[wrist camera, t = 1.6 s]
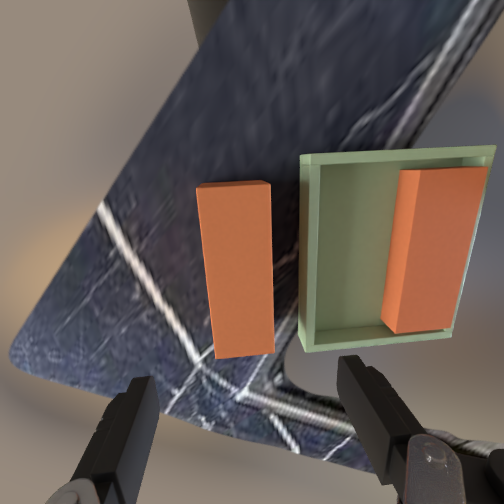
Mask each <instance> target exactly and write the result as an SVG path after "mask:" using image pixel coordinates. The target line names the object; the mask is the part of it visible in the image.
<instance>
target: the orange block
mask: <svg viewBox="0 0 504 504" xmlns="http://www.w3.org/2000/svg"><path fill="white" fill-rule="evenodd" d="M196 193H197V202H198V210H199V219H200V228H201V236H202V245H203V254H204V262H205V271H206V280H207V288H208V297H209V306H210V314H211V323H212V332H213V340H214V349H215V358H216V359H222V358H231V357H241V356H251V355H260V354H270V353H274V352H275V349H274V308H273V267H272V226H271V185H270V184H269V183H267V182H265V181H263V180H251V181H233V182H215V183H202V184H201V185H200V186H198V187H197V188H196Z"/></svg>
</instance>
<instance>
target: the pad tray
mask: <svg viewBox="0 0 504 504" xmlns="http://www.w3.org/2000/svg"><path fill="white" fill-rule="evenodd" d="M496 146H497V145H478V146H458V147H438V148H417V149H397V150H376V151H356V152H336V153H315V154H305V155H300V208H299V297H298V335H299V338H300V340H301V343H302V345H303V348H304V350H305V352H306V353H308V352H317V351H327V350H336V349H346V348H356V347H365V346H375V345H384V344H394V343H403V342H413V341H422V340H432V339H441V338H450V337H451V335H452V330H453V326H454V322H455V318H456V314H457V310H458V306H459V301H460V297H461V293H462V289H463V285H464V280H465V276H466V272H467V267H468V264H469V259H470V255H471V251H472V247H473V243H474V239H475V234H476V230H477V226H478V222H479V217H480V214H481V209H482V205H483V201H484V197H485V193H486V188H487V184H488V180H489V176H490V172H491V168H492V163H493V159H494V155H495V151H496ZM457 166H486V167H488V171H487V176H486V180H485V184H484V188H483V193H482V197H481V201H480V205H479V210H478V214H477V218H476V222H475V226H474V231H473V235H472V239H471V243H470V248H469V252H468V256H467V260H466V265H465V269H464V273H463V277H462V282H461V286H460V290H459V294H458V299H457V303H456V307H455V311H454V316H453V320H452V324H451V328H446V329H436V330H427V331H417V332H407V333H397V334H395V333H394V332H393V331H392V330H391V329H390V328H389V327H388V326H387V325H386V324H385V323H384V322H383V321H382V320H381V319H380V317H381V309H382V302H383V294H384V286H385V279H386V271H387V263H388V256H389V248H390V240H391V233H392V225H393V217H394V210H395V202H396V194H397V187H398V179H399V171H400V170H403V169H421V168H439V167H457Z"/></svg>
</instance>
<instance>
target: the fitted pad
mask: <svg viewBox="0 0 504 504" xmlns="http://www.w3.org/2000/svg"><path fill="white" fill-rule="evenodd" d="M487 171H488V167H486V166H457V167H439V168H421V169H403V170H400V171H399V179H398V187H397V194H396V202H395V210H394V217H393V225H392V233H391V240H390V248H389V256H388V263H387V271H386V279H385V286H384V294H383V302H382V309H381V317H380V319H381V320H382V321H383V322H384V323H385V324H386V325H387V326H388V327H389V328H390V329H391V330H392V331H393V332H394V333H395V334H397V333H407V332H417V331H427V330H436V329H446V328H451V324H452V320H453V316H454V311H455V307H456V303H457V299H458V294H459V290H460V286H461V282H462V277H463V273H464V269H465V265H466V260H467V256H468V252H469V248H470V243H471V239H472V235H473V231H474V226H475V222H476V218H477V214H478V210H479V205H480V201H481V197H482V193H483V188H484V184H485V180H486V176H487Z"/></svg>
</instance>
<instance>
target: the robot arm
mask: <svg viewBox="0 0 504 504" xmlns="http://www.w3.org/2000/svg"><path fill="white" fill-rule="evenodd" d="M337 391H338V395H339V398H340V400H341V402H342V404H343V406H344V408H345V410H346V412H347V415H348V417H349V419H350V421H351V423H352V425H353V427H354V429H355V431H356V433H357V435H358V437H359V439H360V441H361V443H362V446H363V448H364V450H365V452H366V454H367V456H368V458H369V460H370V462H371V464H372V466H373V468H374V470H375V472H376V474H377V476H378V478H379V481H380V483H381V485H389V484H393V486H394V488H395V489H396V491H397V493H398V496H397V504H504V449H496V450H493V451H492V452H491V453H490V455H489V457H488V459H483V458H478V457H473V456H468V455H463V454H459V453H456V452H454V451H453V450H452V449H451V448H450V447H449V446H448V445H446V444H445V443H444V442H442V441H441V440H439V439H437V438H435V437H433V436H430V435H428V434H427V432H426V431H425V430H424V428H423V427H422V426H421V424H420V423H419V422H418V420H417V419H416V418H415V416H414V415H413V414H412V412H411V411H410V410H409V409H408V407H407V406H406V404H405V403H404V402H403V400H402V399H401V398H400V397H399V396H398V394H397V392H396V391H395V390H394V388H392V387H391V384H390V383H389V382H388V380H387V379H386V378H385V376H384V375H383V374H382V373H380V372H379V371H378V370H376V369H375V368H374V367H372V366H368V367H366V366H365V364H364V363H363V362H362V360H361V359H360V357H359V356H358V355H350V356H340V357H339V360H338V371H337ZM159 411H160V406H159V399H158V395H157V390H156V385H155V381H154V377H153V376H145V377H136V378H133V379H132V380H131V383H130V385H129V387H128V389H127V392H125V393H119V394H118V395H117V396H116V397H115V398H114V399H113V400H112V401H111V402H110V403H109V404H108V406H107V408H106V410H105V412H104V414H103V416H102V419H101V421H100V422H99V424H98V426H97V428H96V432H95V433H94V434H93V436H92V438H91V440H90V442H89V444H88V446H87V448H86V450H85V452H84V454H83V456H82V458H81V460H80V462H79V464H78V466H77V468H76V470H75V472H74V474H73V476H72V478H71V480H70V482H69V483H67V484H65V485H64V486H62V487H61V488H60V489H58V491H56V492H55V493H54V494H53V495H52V496H51V497H50V498H49V500H48V501H47V502H46V503H45V504H136V501H137V497H138V493H139V490H140V486H141V482H142V479H143V475H144V471H145V468H146V464H147V460H148V456H149V453H150V449H151V445H152V442H153V438H154V434H155V430H156V427H157V423H158V419H159Z"/></svg>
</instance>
